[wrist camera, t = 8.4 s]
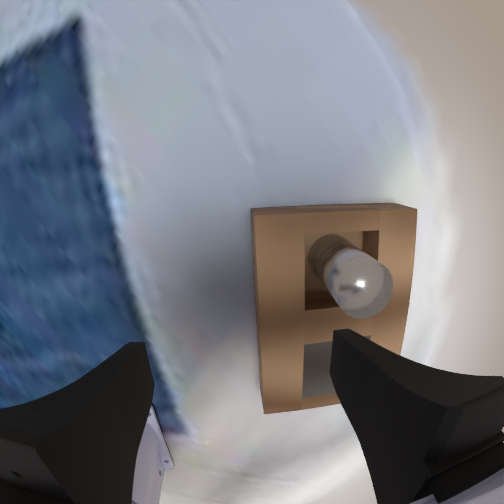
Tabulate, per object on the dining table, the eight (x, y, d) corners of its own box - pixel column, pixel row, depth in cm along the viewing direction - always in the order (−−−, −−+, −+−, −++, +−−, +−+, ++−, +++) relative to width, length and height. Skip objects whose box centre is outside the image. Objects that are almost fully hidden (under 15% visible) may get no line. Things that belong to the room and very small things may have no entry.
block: (377, 371, 24) (391, 392, 21) (260, 388, 23) (264, 414, 20) (394, 202, 20) (417, 209, 17) (250, 208, 20) (254, 215, 17)
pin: (351, 274, 21) (391, 312, 15) (309, 281, 21) (338, 323, 15) (350, 231, 20) (394, 257, 14) (306, 236, 20) (337, 266, 14)
